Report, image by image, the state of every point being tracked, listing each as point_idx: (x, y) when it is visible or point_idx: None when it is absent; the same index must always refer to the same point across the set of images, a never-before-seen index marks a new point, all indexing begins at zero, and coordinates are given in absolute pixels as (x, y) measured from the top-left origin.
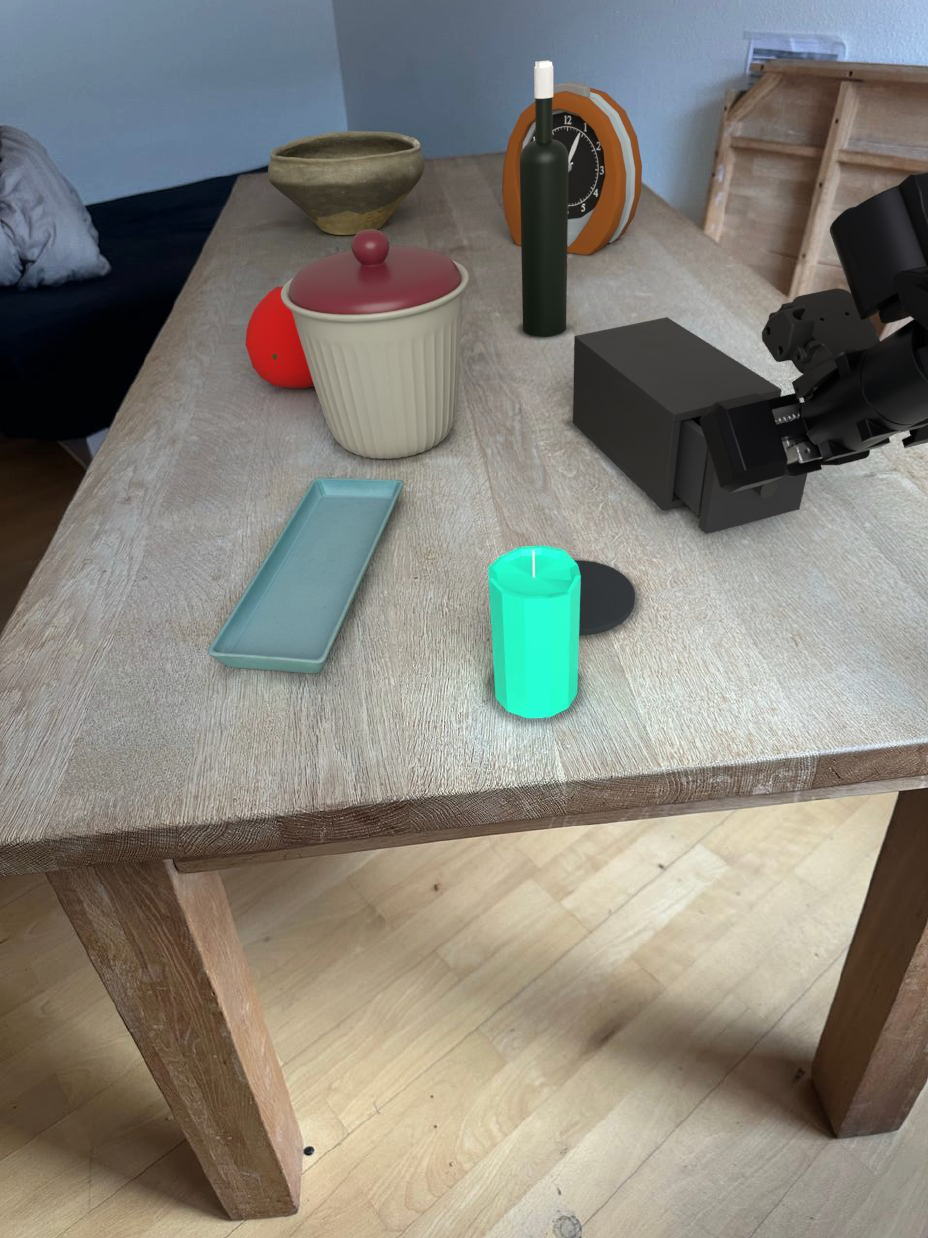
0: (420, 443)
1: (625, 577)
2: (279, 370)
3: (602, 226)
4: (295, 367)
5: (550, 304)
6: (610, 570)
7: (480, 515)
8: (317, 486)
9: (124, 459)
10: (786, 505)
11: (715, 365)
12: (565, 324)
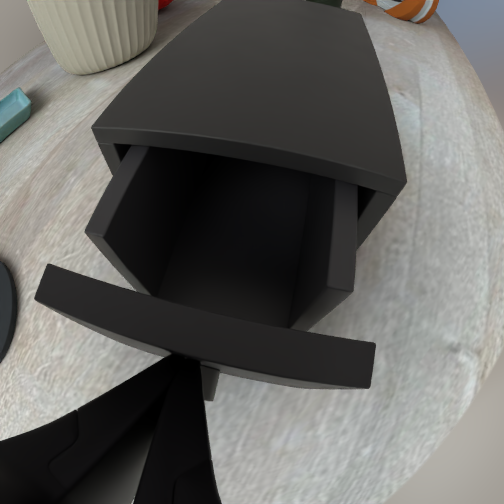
0: (83, 67)
1: (7, 329)
2: None
3: (407, 8)
4: None
5: (321, 3)
6: (8, 307)
7: (38, 153)
8: (15, 93)
9: (27, 55)
10: (274, 383)
11: (338, 63)
12: None
